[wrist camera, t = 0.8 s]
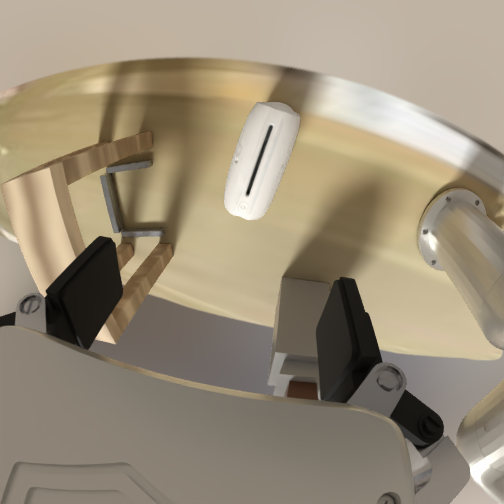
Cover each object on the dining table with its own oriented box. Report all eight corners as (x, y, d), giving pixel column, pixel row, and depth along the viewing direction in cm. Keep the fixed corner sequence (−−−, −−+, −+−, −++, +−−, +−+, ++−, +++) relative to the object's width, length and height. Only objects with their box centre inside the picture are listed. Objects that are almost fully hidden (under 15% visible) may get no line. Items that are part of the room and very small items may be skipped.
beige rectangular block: (275, 311, 42) (263, 416, 27) (281, 277, 38) (271, 388, 23) (318, 317, 41) (321, 421, 26) (328, 283, 38) (340, 393, 23)
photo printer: (272, 189, 32) (261, 236, 22) (238, 177, 32) (210, 218, 22) (302, 110, 27) (310, 111, 16) (265, 97, 27) (250, 91, 16)
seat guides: (151, 159, 32) (146, 162, 31) (165, 233, 37) (161, 237, 36) (104, 167, 33) (98, 170, 32) (120, 233, 39) (115, 238, 37)
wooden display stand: (151, 131, 30) (49, 167, 15) (173, 255, 39) (115, 344, 24) (97, 143, 31) (0, 184, 16) (124, 254, 40) (60, 329, 25)
